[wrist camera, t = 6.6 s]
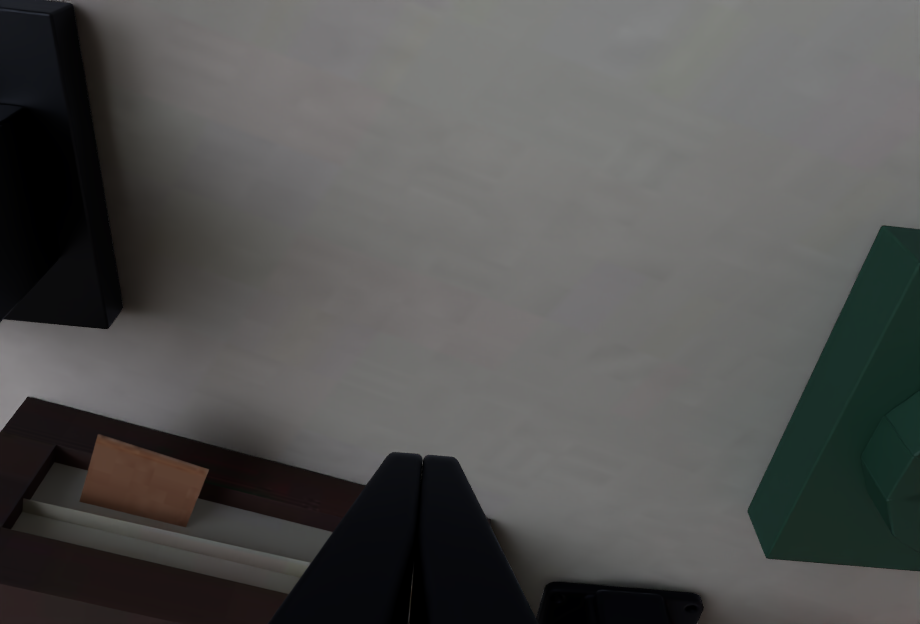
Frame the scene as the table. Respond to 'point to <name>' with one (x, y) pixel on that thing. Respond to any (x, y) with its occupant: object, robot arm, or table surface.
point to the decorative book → (150, 524)
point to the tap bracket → (50, 176)
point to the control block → (855, 430)
